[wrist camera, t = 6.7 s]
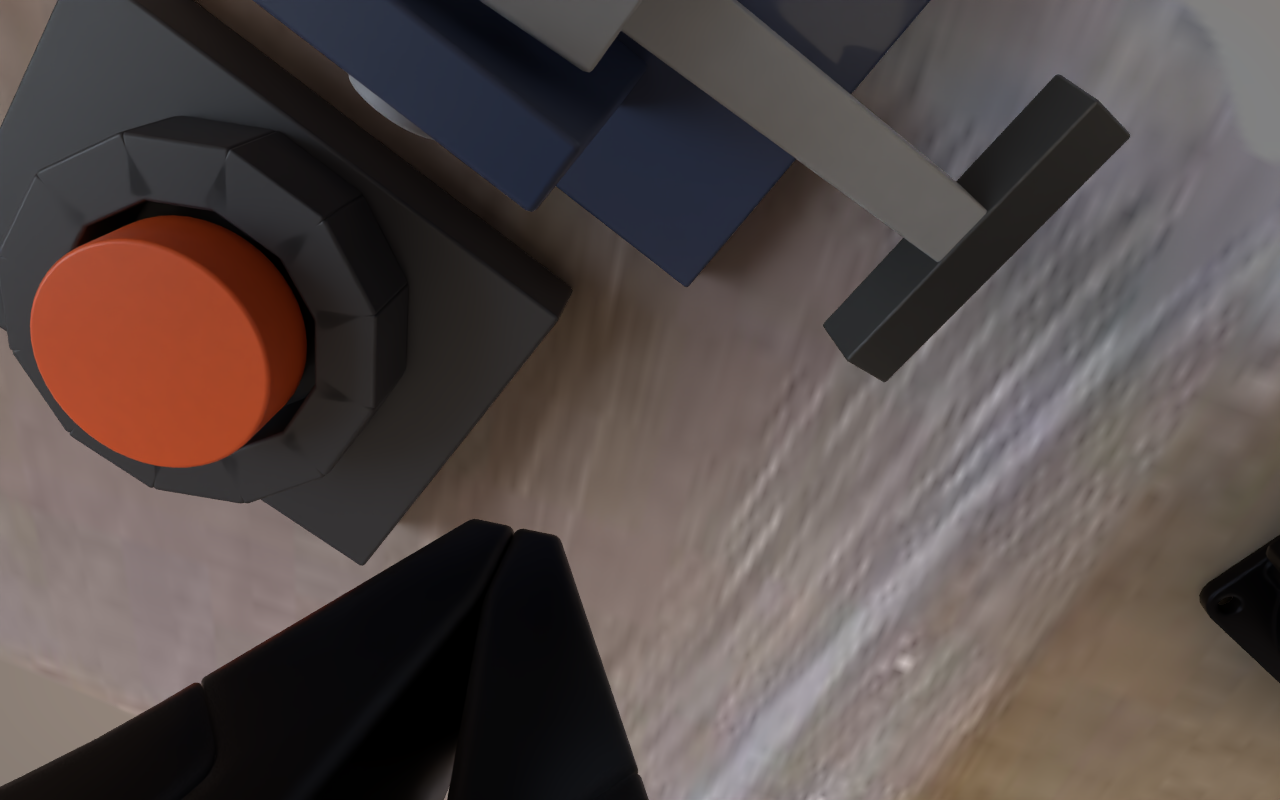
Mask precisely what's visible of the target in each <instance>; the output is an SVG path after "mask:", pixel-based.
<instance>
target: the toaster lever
mask: <svg viewBox="0 0 1280 800" xmlns="http://www.w3.org/2000/svg"><path fill="white" fill-rule="evenodd" d="M479 1H481V2H482V3H484V4H485V5H487V6H488V7H490V8H491V9H493V10H494V11H495V12H497V13H498V14H500V15H501V16H503V17H504V18H506V19H507V20H509V21H510V22H512V23H513V24H515V25H516V26H517V27H519V28H520V29H522V30H523V31H525V32H526V33H528V34H529V35H531V36H532V37H534V38H535V39H537V40H538V41H539V42H541V43H542V44H544V45H545V46H547V47H548V48H550V49H551V50H553V51H554V52H556V53H557V54H559V55H560V56H561V57H563V58H564V59H566V60H567V61H569V62H570V63H572V64H573V65H575V66H576V67H578V68H579V69H580V70H582V71H585V72H591V71H592V70H593V69H594V68H595V66H596V65H597V64H598V62H599V61H600V59H601V58H602V57H603V55H604V54H605V52H606V51H607V50H608V48H609V47H610V45H611V44H612V43H613V41H614V40H615V38H616V37H617V36H618V34H619V33H620V31H622V32H623V33H625V34H626V35H627V36H629V37H630V38H632V39H633V40H634V41H636V42H637V43H638V44H640V45H641V46H642V47H644V48H645V49H647V50H648V51H649V52H651V53H652V54H653V55H655V56H656V57H657V58H659V59H660V60H662V61H663V62H664V63H666V64H667V65H668V66H670V67H671V68H673V69H674V70H675V71H677V72H678V73H679V74H681V75H682V76H683V77H685V78H686V79H688V80H689V81H690V82H692V83H693V84H694V85H696V86H697V87H698V88H700V89H701V90H703V91H704V92H705V93H707V94H708V95H709V96H711V97H712V98H713V99H715V100H716V101H718V102H719V103H720V104H722V105H723V106H724V107H726V108H727V109H729V110H730V111H731V112H733V113H734V114H735V115H737V116H738V117H739V118H741V119H742V120H744V121H745V122H746V123H748V124H749V125H750V126H752V127H753V128H754V129H756V130H757V131H759V132H760V133H761V134H763V135H764V136H765V137H767V138H768V139H770V140H771V141H772V142H774V143H775V144H776V145H778V146H779V147H780V148H782V149H783V150H785V151H786V152H787V153H789V154H790V155H791V156H793V157H794V158H795V159H797V160H798V161H800V162H801V163H802V164H804V165H805V166H806V167H808V168H809V169H810V170H812V171H813V172H815V173H816V174H817V175H819V176H820V177H821V178H823V179H824V180H826V181H827V182H828V183H830V184H831V185H832V186H834V187H835V188H836V189H838V190H839V191H841V192H842V193H843V194H845V195H846V196H847V197H849V198H850V199H851V200H853V201H854V202H856V203H857V204H858V205H860V206H861V207H862V208H864V209H865V210H867V211H868V212H869V213H871V214H872V215H873V216H875V217H876V218H877V219H879V220H880V221H882V222H883V223H884V224H886V225H887V226H888V227H890V228H891V229H892V230H894V231H895V232H897V233H898V234H899V235H901V236H902V237H903V239H902V240H901V241H900V242H899V243H898V244H897V246H896V247H895V248H894V249H893V250H892V251H891V252H890V253H889V254H888V255H887V256H886V257H885V258H884V259H883V261H882V262H881V263H880V264H879V265H878V266H877V267H876V268H875V269H874V270H873V271H872V272H871V273H870V274H869V276H868V277H867V278H866V279H865V280H864V281H863V282H862V283H861V284H860V285H859V286H858V287H857V288H856V289H855V291H854V292H853V293H852V294H851V295H850V296H849V297H848V298H847V299H846V300H845V301H844V302H843V303H842V304H841V306H840V307H839V308H838V309H837V310H836V311H835V312H834V313H833V314H832V315H831V316H830V317H829V318H828V319H827V320H826V322H825V323H824V324H823V326H824V328H825V329H826V331H827V332H828V334H829V335H830V337H831V338H832V340H833V341H834V342H835V344H836V345H837V347H838V348H839V350H840V351H841V353H842V354H843V355H844V357H845V358H846V360H847V361H849V362H850V363H852V364H854V365H855V366H857V367H859V368H861V369H862V370H864V371H866V372H867V373H869V374H871V375H873V376H874V377H876V378H878V379H879V380H881V381H883V382H886V381H887V380H888V379H889V378H890V377H891V376H892V375H893V374H894V373H895V372H896V371H897V370H898V369H899V368H900V367H901V366H902V365H903V364H904V363H905V362H906V361H907V360H908V359H909V358H910V357H911V356H912V355H913V354H914V353H915V352H916V351H917V350H918V349H919V348H920V347H921V346H922V345H923V344H924V343H925V342H926V341H927V340H928V339H929V338H930V337H931V336H932V335H933V334H934V333H935V332H936V331H937V330H938V329H939V328H940V327H941V326H942V325H943V324H944V323H945V322H946V321H947V320H948V319H949V318H950V317H951V316H952V315H953V314H954V313H955V312H956V311H957V310H958V309H959V308H960V307H961V306H962V305H963V304H964V303H965V302H966V301H967V300H968V299H969V298H970V297H971V296H972V295H973V294H974V293H975V292H976V291H977V290H978V289H979V288H980V287H981V286H982V285H983V284H984V283H985V282H986V281H987V280H988V279H989V278H990V277H991V276H992V275H993V274H994V273H995V272H996V271H997V270H998V269H999V268H1000V267H1001V266H1002V265H1003V264H1004V263H1005V262H1006V261H1007V260H1008V259H1009V258H1010V257H1011V256H1012V255H1013V254H1014V253H1015V252H1016V251H1017V250H1018V249H1019V248H1020V247H1021V246H1022V245H1023V244H1024V243H1025V242H1026V241H1027V240H1028V239H1029V238H1030V237H1031V236H1032V235H1033V234H1034V233H1035V232H1036V231H1037V230H1038V229H1039V228H1040V227H1041V226H1042V225H1043V224H1044V223H1045V222H1046V221H1047V220H1048V219H1049V218H1050V217H1051V216H1052V215H1053V214H1054V213H1055V212H1056V211H1057V210H1058V209H1059V208H1060V207H1061V206H1062V205H1063V204H1064V203H1065V202H1066V201H1067V200H1068V199H1069V198H1070V197H1071V196H1072V195H1073V194H1074V193H1075V192H1076V191H1077V190H1078V189H1079V188H1080V187H1081V186H1082V185H1083V184H1084V183H1085V182H1086V181H1087V180H1088V179H1089V178H1090V177H1091V176H1092V175H1093V174H1094V173H1095V172H1096V171H1097V170H1098V169H1099V168H1100V167H1101V166H1102V165H1103V164H1104V163H1105V162H1106V161H1107V160H1108V159H1109V158H1110V157H1111V156H1112V155H1113V154H1114V153H1115V152H1116V151H1117V150H1118V149H1119V148H1120V147H1121V146H1122V145H1123V144H1124V143H1125V142H1126V141H1127V140H1128V139H1129V138H1130V134H1129V132H1128V131H1127V130H1126V129H1125V128H1124V127H1123V126H1122V125H1121V124H1120V123H1119V122H1118V121H1117V120H1116V118H1115V117H1114V116H1113V115H1112V114H1111V113H1110V112H1109V111H1108V110H1107V109H1106V108H1105V107H1104V106H1103V105H1102V104H1101V103H1100V102H1099V100H1097V99H1096V98H1094V97H1093V96H1091V95H1090V94H1088V93H1087V92H1085V91H1084V90H1082V89H1081V88H1079V87H1078V86H1076V85H1075V84H1073V83H1072V82H1070V81H1069V80H1068V79H1066V78H1065V77H1063V76H1062V75H1059V74H1057V75H1055V76H1054V77H1053V78H1052V80H1051V81H1050V82H1049V83H1048V84H1047V85H1046V86H1045V87H1044V88H1043V89H1042V90H1041V91H1040V92H1039V93H1038V95H1037V96H1036V97H1035V98H1034V99H1033V100H1032V101H1031V102H1030V103H1029V104H1028V105H1027V106H1026V107H1025V108H1024V110H1023V111H1022V112H1021V113H1020V114H1019V115H1018V116H1017V117H1016V118H1015V119H1014V120H1013V121H1012V122H1011V123H1010V125H1009V126H1008V127H1007V128H1006V129H1005V130H1004V131H1003V132H1002V133H1001V134H1000V135H999V136H998V137H997V138H996V140H995V141H994V142H993V143H992V144H991V145H990V146H989V147H988V148H987V149H986V150H985V151H984V152H983V153H982V155H981V156H980V157H979V158H978V159H977V160H976V161H975V162H974V163H973V164H972V165H971V166H970V167H969V168H968V170H967V171H966V172H965V173H964V174H963V175H962V176H961V177H960V178H959V179H958V180H957V181H955V180H954V179H952V178H951V177H950V176H949V175H948V174H946V173H945V172H944V171H943V170H941V169H940V168H939V167H938V166H937V165H935V164H934V163H933V162H932V161H931V160H929V159H928V158H927V157H926V156H925V155H923V154H922V153H921V152H920V151H919V150H917V149H916V148H915V147H914V146H912V145H911V144H910V143H909V142H908V141H906V140H905V139H904V138H903V137H902V136H900V135H899V134H898V133H897V132H896V131H894V130H893V129H892V128H891V127H889V126H888V125H887V124H886V123H885V122H883V121H882V120H881V119H880V118H879V117H877V116H876V115H875V114H874V113H873V112H871V111H870V110H869V109H868V108H866V107H865V106H864V105H863V104H862V103H860V102H859V101H858V100H857V99H856V98H854V97H853V96H852V95H851V94H850V93H848V92H847V91H846V90H845V89H843V88H842V87H841V86H840V85H839V84H837V83H836V82H835V81H834V80H833V79H831V78H830V77H829V76H828V75H827V74H825V73H824V72H823V71H822V70H821V69H819V68H818V67H817V66H816V65H814V64H813V63H812V62H811V61H810V60H808V59H807V58H806V57H805V56H804V55H802V54H801V53H800V52H799V51H798V50H796V49H795V48H794V47H793V46H791V45H790V44H789V43H788V42H787V41H785V40H784V39H783V38H782V37H781V36H779V35H778V34H777V33H776V32H775V31H773V30H772V29H771V28H770V27H768V26H767V25H766V24H765V23H764V22H762V21H761V20H760V19H759V18H758V17H756V16H755V15H754V14H753V13H752V12H750V11H749V10H748V9H747V8H746V7H744V6H743V5H742V4H741V3H739V2H738V1H737V0H479Z"/></svg>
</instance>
